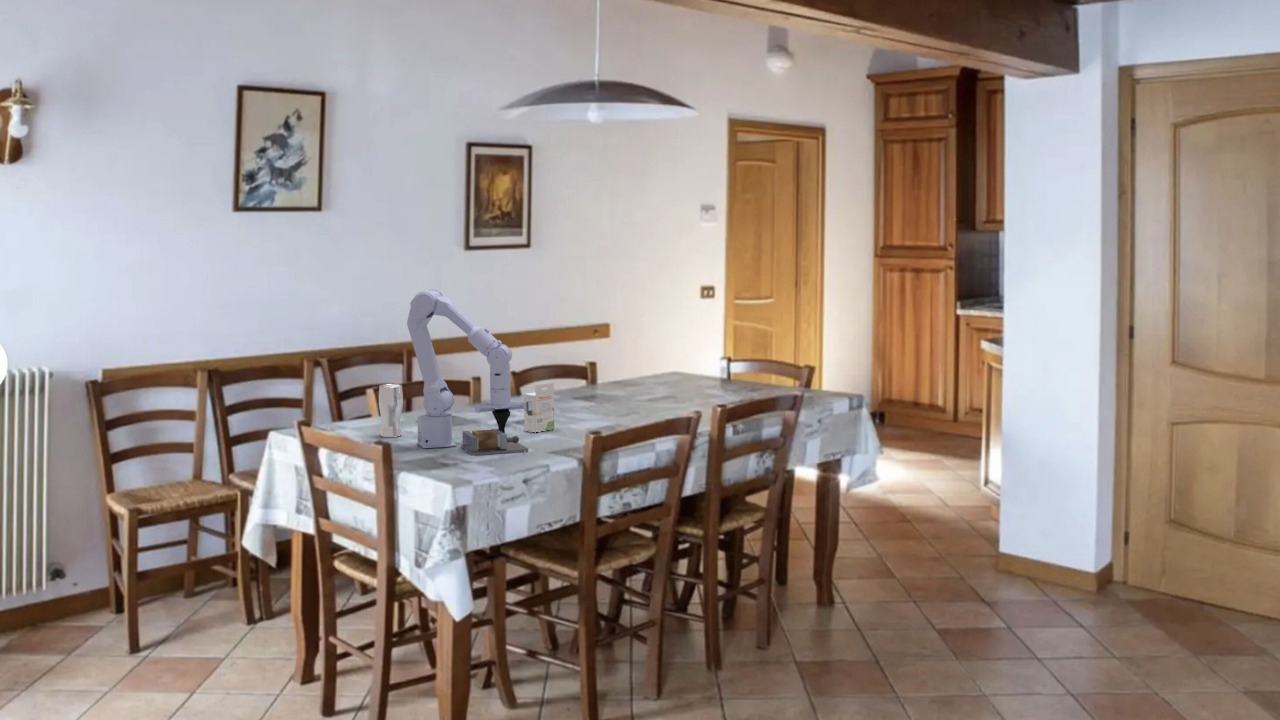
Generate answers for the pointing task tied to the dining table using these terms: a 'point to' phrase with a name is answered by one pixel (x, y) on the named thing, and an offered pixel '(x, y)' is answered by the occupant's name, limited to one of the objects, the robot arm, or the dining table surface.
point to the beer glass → (390, 409)
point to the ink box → (539, 409)
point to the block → (486, 438)
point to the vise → (472, 447)
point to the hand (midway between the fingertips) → (501, 435)
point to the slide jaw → (504, 439)
